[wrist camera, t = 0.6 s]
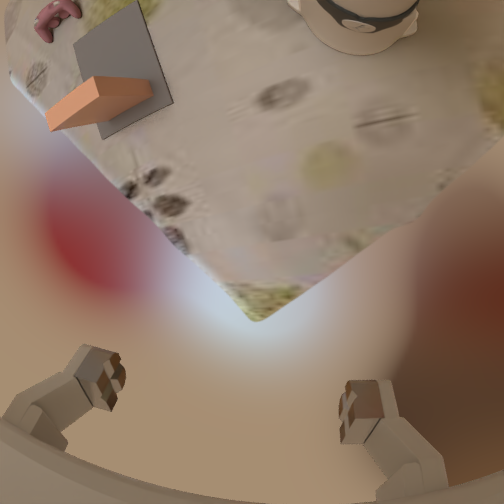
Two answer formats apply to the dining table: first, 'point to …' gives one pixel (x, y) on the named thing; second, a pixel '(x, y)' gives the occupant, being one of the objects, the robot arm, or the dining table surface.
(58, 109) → the tile
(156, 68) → the mat
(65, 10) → the video game controller
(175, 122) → the dining table surface
